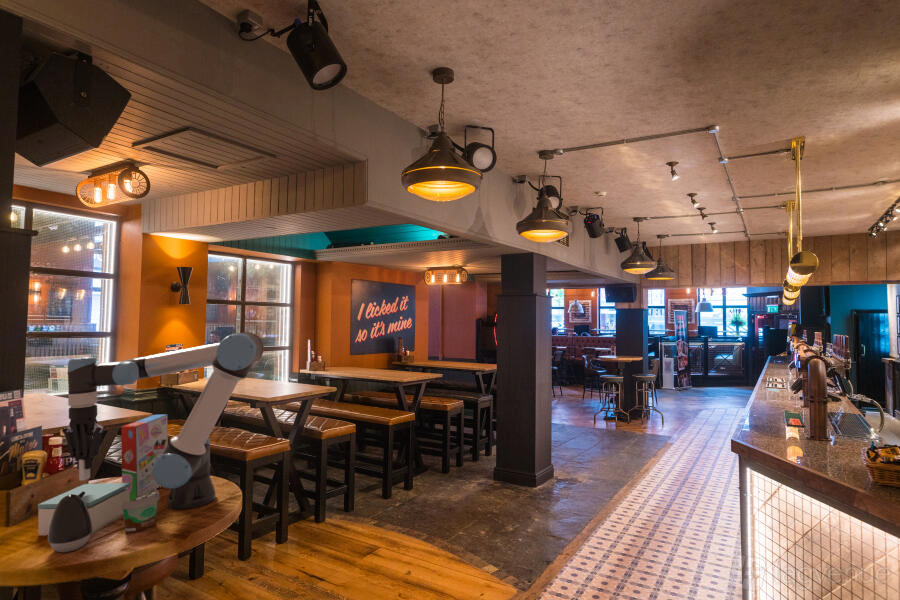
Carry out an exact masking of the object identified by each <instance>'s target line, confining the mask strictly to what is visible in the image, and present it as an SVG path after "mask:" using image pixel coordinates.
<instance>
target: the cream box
mask: <svg viewBox="0 0 900 600" xmlns="http://www.w3.org/2000/svg"><path fill="white" fill-rule="evenodd" d="M123 502H130V496H129V488H126V489H124V490H122V491H120V492H118V493H116V494H114V495H112V496H110V497H108V498H106V499H104V500H102V501H100V502H98V503H96V504H94V505H92V506H90V507H87V509H88V511H89V514H90V518H91V523H92V532H91V534H90V536H91V535H93V534H95V533H96V532H98V531H100V530H101V529H103V528H106V526H108V525H110V524H112V523H114V522H116V521H117V520H119V519H120V518H122V517H124V512H123V509H121V508H122V504H123ZM37 509H38V518H37V519H38V535H39V534H40V535H39V536H47V535H48V532H49V527H50V523H51V519H52V516H53V513H54V511H55V508H37Z"/></svg>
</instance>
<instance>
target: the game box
mask: <svg viewBox="0 0 900 600" xmlns="http://www.w3.org/2000/svg"><path fill="white" fill-rule="evenodd" d="M168 426H169V425H168V414H166V413H165V414H164V413H163V414H153V415H150V416H147V417H145V418H141V419H139V420H136V421H134V422H130V423H128V424H125V425H122V426H121V429H120V430H121V431H120V432H121V483H131V486H130V487H128V488H129V496H130V501H132V500H134V499H135V498H137V497H139V496H142V495H145V494H148V493H150V492H151V489H155V490H156V489H157V488H159V487H160V485H159V484H158V483H157V482H156V481H155V480H154V478H153V475H152V467H153V464H154V462H155V461H156V459H157V458H158V457H159V456H161V455H162V454H163V452H164V451H165V449H166V447H167V445H168V443H169V439H168V436H169V434H168V428H169V427H168ZM160 488H161V487H160ZM160 488H159V489H160ZM157 490H158V489H157Z"/></svg>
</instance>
